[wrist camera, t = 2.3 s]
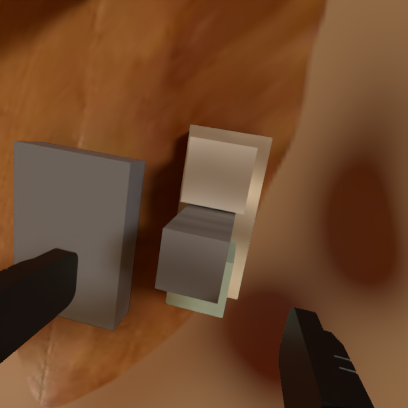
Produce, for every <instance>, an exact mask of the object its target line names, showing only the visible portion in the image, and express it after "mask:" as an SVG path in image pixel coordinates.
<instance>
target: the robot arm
mask: <svg viewBox="0 0 408 408" xmlns="http://www.w3.org/2000/svg"><path fill="white" fill-rule="evenodd" d="M77 270H78V255H77V253H75V252H71V251H67V250H63V249H59V248H54V249H52V250H50V251H48V252H46V253H44V254H42V255H40V256H37V257H35V258H32V259H28V260H25V261H21V262H19V263H17V264H15V265H13V266H10V267H8V269H4V270H2V271H0V363H1V362H3V361H4V360H5V359H6V358H7V357H8V356H10V355H11V354H12V353H13V352H15V351H16V350H17V349H18V348H19V347H20V346H22V345H23V344H24V343H25V342H26V341H28V340H29V339H30V338H31V337H32V336H34V335H35V334H36V333H37V332H38V331H39V330H41V329H42V328H43V327H44V326H45V325H47V324H48V323H49V322H50V321H51V320H52V319H54V318H55V317H56V316H57V315H58V314H60V313H61V312H62V311H63V310H64V309H66V308H67V307H68V306H69V305H70V303H71V302H72V300H73V298H74V296H75V292H76V283H77ZM278 360H279V361H278V363H279V372H280V379H281V386H282V392H283V400H284V407H285V408H374V406H373V404H372V402H371V400H370V398H369V396H368V394H367V392H366V390H365V388H364V386H363V384H362V382H361V380H360V378H359V376H358V374H356V370H355V368H354V366H353V364H352V362H351V361H350V358H349V356H348V354H347V352H346V350H345V348H344V346H343V344H342V343H341V342H340V341H339V340H338V339H337V338H336V337H335V336H334V335H333V334H332V333H331V332H328V331H325V330H323V328H322V325H321V323H320V321H319V319H318V316H317V314H316V313H315V312H312V311H308V310H304V309H300V308H296V307H292V308H291V309H290V312H289V315H288V319H287V322H286V326H285V330H284V333H283V337H282V341H281V344H280V349H279V359H278Z"/></svg>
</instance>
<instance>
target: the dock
mask: <svg viewBox="0 0 408 408" xmlns="http://www.w3.org/2000/svg"><path fill="white" fill-rule="evenodd" d="M144 169H145V161H142V160H137V159H131V158H126V157H121V156H115V155H110V154H104V153H99V152H94V151H88V150H83V149H77V148H72V147H67V146H61V145H56V144H50V143H45V142H29V141H14V265H15V264H17V263H19V262H21V261H25V260H28V259H32V258H35V257H37V256H40V255H42V254H44V253H46V252H48V251H50V250H52V249H54V248H59V249H63V250H67V251H71V252H75V253H77V255H78V270H77V283H76V292H75V296H74V298H73V300H72V302H71V303H70V305H69V306H68V307H67V308H66V309H64V310H63V311H62V312H61V313H60V314H58V315H57V316H59V317H63V318H67V319H70V320H74V321H77V322H81V323H85V324H88V325H92V326H96V327H99V328H103V329H107V330H110V331H114V330H115V329H116V327H117V326H118V324H119V323H120V322H121V320H122V319H123V318H124V316H125V315H126V314H127V312H128V309H129V301H130V292H131V283H132V274H133V266H134V257H135V248H136V239H137V230H138V222H139V213H140V204H141V195H142V186H143V178H144Z"/></svg>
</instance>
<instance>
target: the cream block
mask: <svg viewBox="0 0 408 408" xmlns="http://www.w3.org/2000/svg"><path fill="white" fill-rule="evenodd" d="M257 149H258V148H255V147H249V146H243V145H237V144H231V143H226V142H220V141H214V140H208V139H202V138H196V137H190V142H189V148H188V155H187V162H186V168H185V175H184V181H183V188H182V195H181V201H180V202H185V203H190V204H195V205H200V206H205V207H210V208H215V209H220V210H225V211H229V212H234V213H239V214H244V211H245V207H246V202H247V197H248V192H249V187H250V183H251V178H252V173H253V168H254V164H255V159H256V154H257Z"/></svg>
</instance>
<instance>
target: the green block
mask: <svg viewBox="0 0 408 408" xmlns="http://www.w3.org/2000/svg"><path fill="white" fill-rule="evenodd" d="M236 243H237V242H233V241H230V245H229V250H228V255H227V260H226V265H225V270H224V275H223V280H222V285H221V290H220V295H219V300H218V304H216V303H212V302H208V301H204V300H200V299H196V298H191V297H187V296H183V295H179V294H175V293H171V292H167V296H166V303H165V304H169V305H173V306H177V307H181V308H185V309H189V310H193V311H197V312H201V313H205V314H209V315H213V316H217V317H220V318H222V317H223V313H224V308H225V303H226V298H227V294H228V289H229V284H230V280H231V275H232V270H233V265H234V258H235V251H236Z"/></svg>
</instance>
